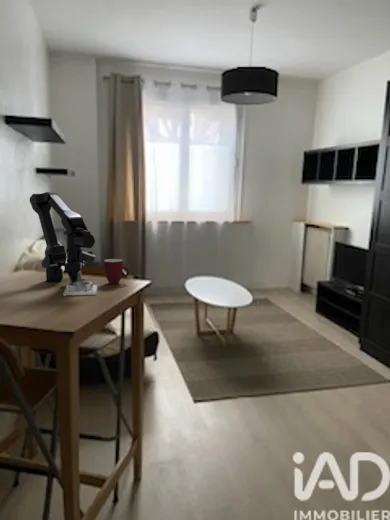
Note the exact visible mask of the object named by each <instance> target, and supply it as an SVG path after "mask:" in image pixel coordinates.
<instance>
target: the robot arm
mask: <svg viewBox="0 0 390 520" xmlns="http://www.w3.org/2000/svg"><path fill="white" fill-rule="evenodd" d="M29 203H30V205H31V208H32V210H33V211H34V212H35V213H36V214H37V215H38V218H39V222H40V227H41V230H42V233H43V237H44V241H45V245H46V247H45V249H44V257H43V259H42V261H41V267H42V268H45V277H46V279H45V283H46V282H47V283H48V282H49V283H51V282H54V283H56V282H62V281H63V280H64V271H66V272H67V275H68V278H69V277H70V279H71V281H72V282H76V281H77V276H78V272H79V271H81V270H82V267H83V266H84V263H85V262H87V263H89V264H91V265H94V262H95V260H96V256H97V255H95V254H94V250H93V251H92V250H88V251H84V250H83V248H84V249H91V248H93V247H94V246H95V243H96V239H95V236H94V235H93V234H91V230H88V227H87V224H85V222H84V218H83V216H81V215H80V214H79V213H78V212H75V211H73V210H71V209H70V208H69V207H68V205H66V203H65V202H64V201H63V200H62V199H61V198H60V196H59V194H58V193H57V192H55V191H46V192H43V193H32V195H31V196H29ZM51 209H53V210H54V211H55V213H56V214H57V215H58V216H59V217H60V218H61V219H60V222H61V225H62V226H63V228H64V229H65V230H64V231H63V233H62V234H63V235H65V236H66V238H65V239H66V248H65V246H64V244H60V243H59V241H58V238H57V237H58V236H57V233H56V230H55V226H54V223H53V219H52V215H51ZM62 267H63V268H64V269H63V268H62Z"/></svg>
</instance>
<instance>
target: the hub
mask: <svg viewBox="0 0 390 520" xmlns="http://www.w3.org/2000/svg"><path fill="white" fill-rule="evenodd" d="M97 292H98V284H93V282H92V281H89V280H88V281H87V280H85V281H76V282H71V283H70V284H69V283H68V285H66V287H65V289H64V290H63V296H64V297H67V296H66V295H70V296H71V295H72V296H95V295H97Z"/></svg>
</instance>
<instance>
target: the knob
mask: <svg viewBox="0 0 390 520" xmlns="http://www.w3.org/2000/svg"><path fill="white" fill-rule="evenodd" d="M77 281H86V278H85V277H82V271H81V270H80V271H79V272H78V276H77ZM71 282H72V281H71V279H70V277H69V276H68V285H69V284H70V283H71Z"/></svg>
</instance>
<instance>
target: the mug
mask: <svg viewBox="0 0 390 520" xmlns="http://www.w3.org/2000/svg"><path fill="white" fill-rule="evenodd" d="M124 269H125V270H126V274H125V275H123V270H124ZM103 270H104V274H105V278H106V280H107V282H108V284H110V283H111V284H110V285H117V283H118V284H119V283H120V281H121V279H122V278H123V279H124V278H126V277H128V276H129V274H130V270H129V268H128V266H126V265H124V259H120V258H107V259H104V260H103Z"/></svg>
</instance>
